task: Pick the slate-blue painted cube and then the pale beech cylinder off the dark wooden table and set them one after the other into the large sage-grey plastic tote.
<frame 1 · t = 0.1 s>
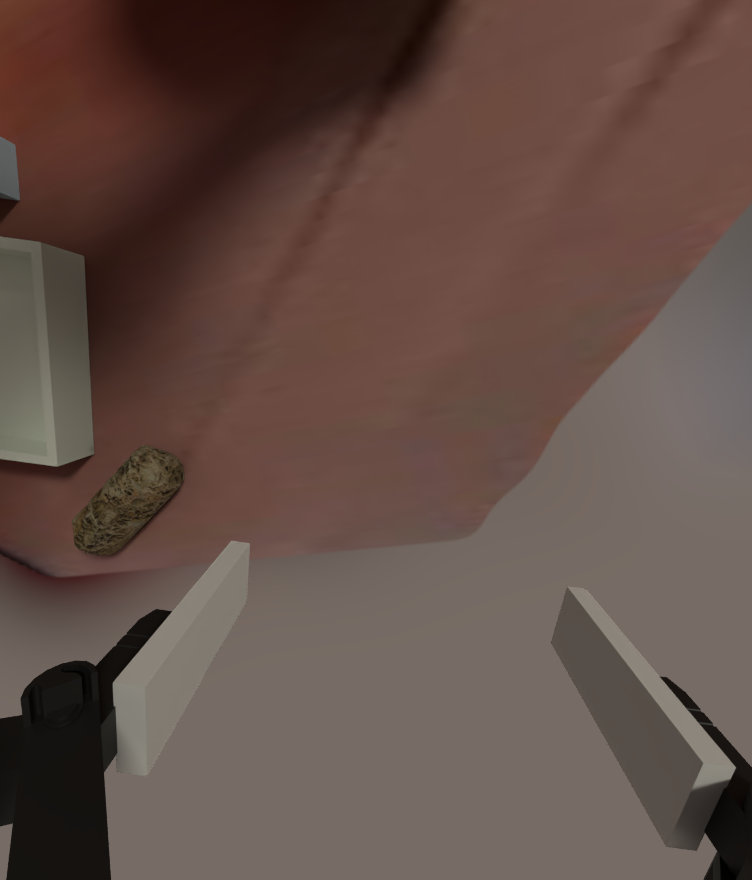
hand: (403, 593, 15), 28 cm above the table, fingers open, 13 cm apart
coral: (146, 490, 45), on the table
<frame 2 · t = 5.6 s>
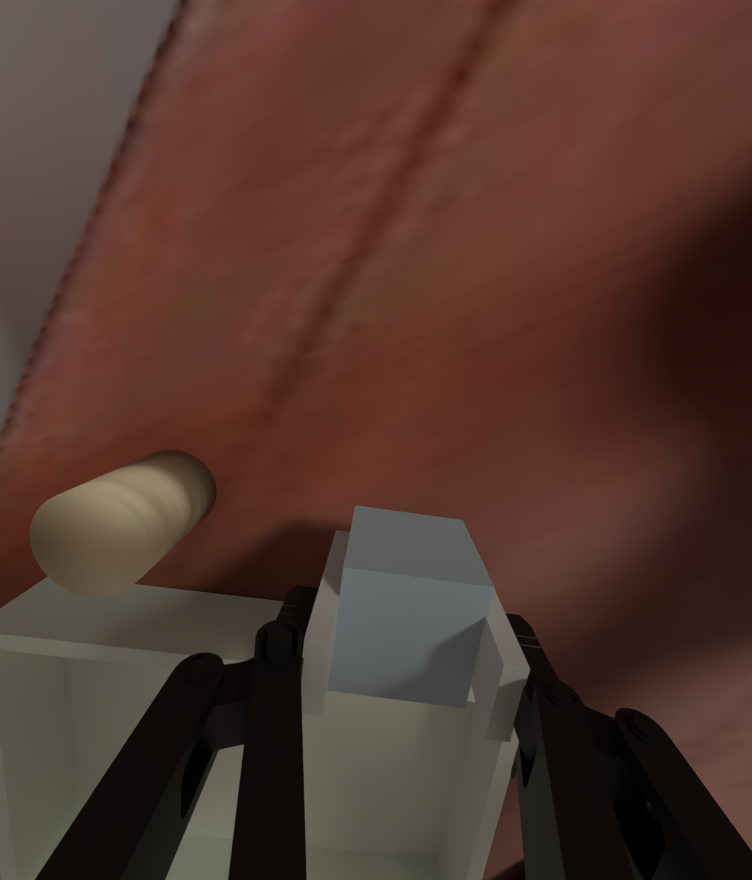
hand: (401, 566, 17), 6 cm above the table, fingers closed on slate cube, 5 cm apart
slate cube: (400, 560, 17), point 6 cm above the table, touching gripper
beech cylinder: (175, 488, 23), on the table
tote: (269, 731, 27), on the table
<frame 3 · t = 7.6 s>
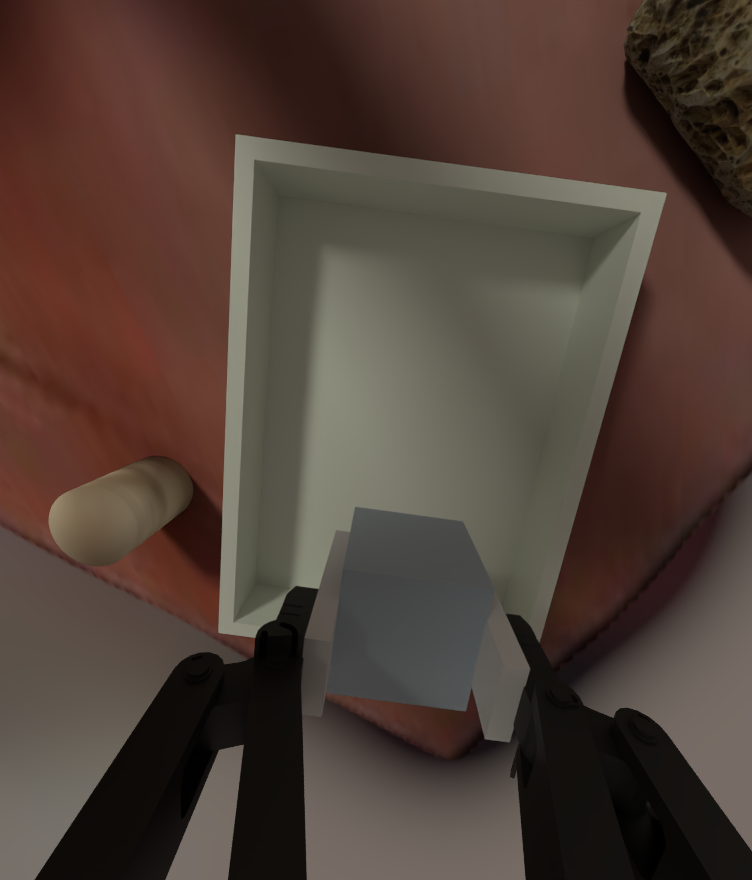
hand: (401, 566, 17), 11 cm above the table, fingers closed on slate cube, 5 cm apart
slate cube: (400, 562, 17), point 11 cm above the table, touching gripper
coral: (701, 121, 22), on the table
beech cylinder: (161, 486, 28), on the table
tote: (403, 430, 27), on the table
when the fingers open (1 cm above the table, at t = 9.6 s): slate cube stays where it is, resting on tote.
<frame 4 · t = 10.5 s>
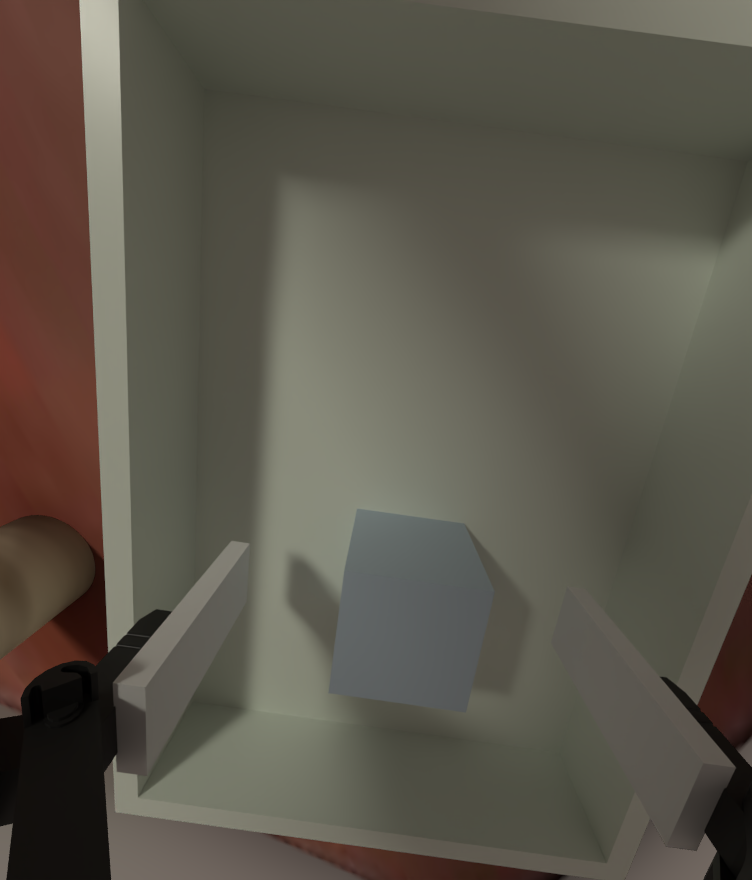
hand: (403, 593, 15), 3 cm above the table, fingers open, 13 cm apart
slate cube: (402, 563, 17), point 1 cm above the table, touching tote
beech cylinder: (47, 560, 19), on the table
tote: (414, 479, 17), on the table
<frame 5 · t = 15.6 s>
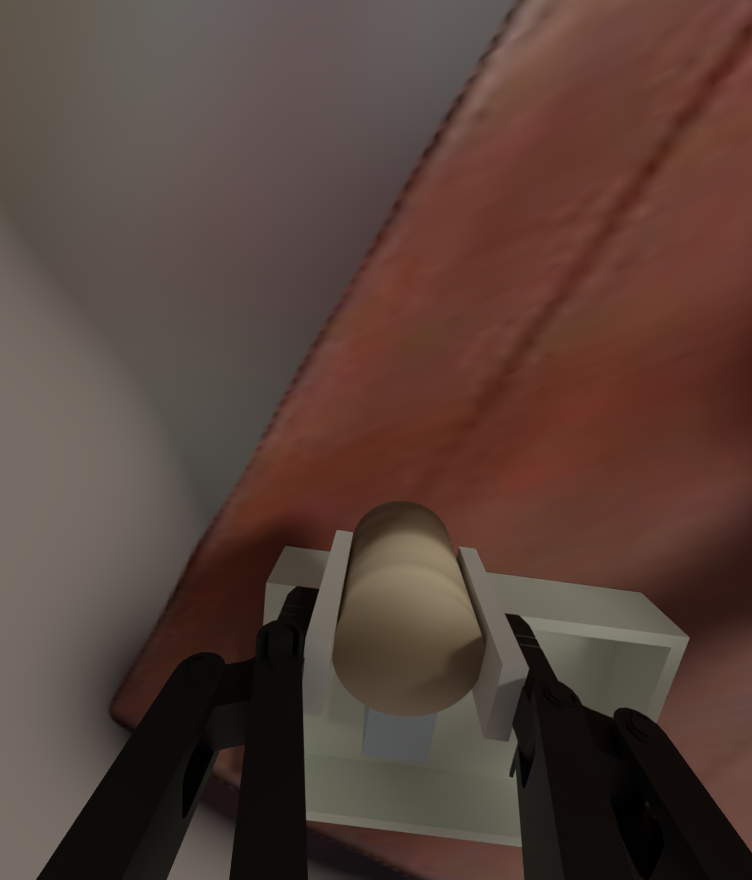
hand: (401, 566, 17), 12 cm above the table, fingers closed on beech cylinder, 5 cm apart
slate cube: (396, 676, 32), point 1 cm above the table, touching tote
beech cylinder: (400, 546, 19), point 10 cm above the table, touching gripper
tote: (441, 676, 33), on the table
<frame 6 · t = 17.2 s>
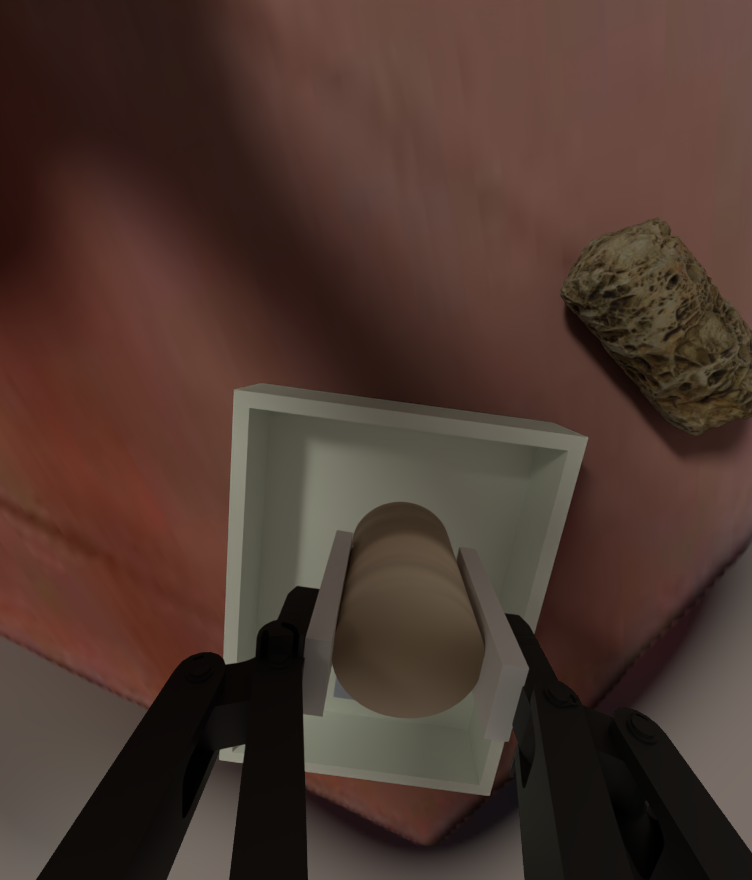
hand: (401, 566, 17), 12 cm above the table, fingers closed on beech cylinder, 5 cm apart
coral: (632, 336, 26), on the table
beech cylinder: (400, 547, 19), point 10 cm above the table, touching gripper
tote: (380, 578, 31), on the table
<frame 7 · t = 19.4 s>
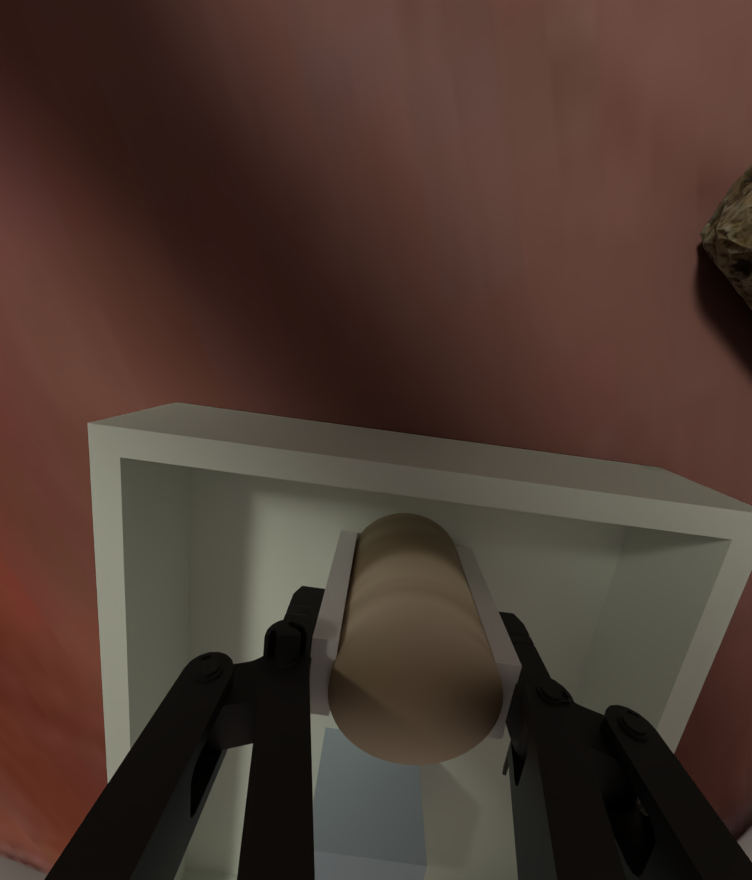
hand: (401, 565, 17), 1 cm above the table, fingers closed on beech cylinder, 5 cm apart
slate cube: (365, 768, 20), point 1 cm above the table, touching tote
beech cylinder: (403, 562, 17), point 1 cm above the table, touching gripper
tote: (375, 700, 20), on the table
when the fingers open (1 cm above the table, at t = 19.4 s): beech cylinder stays where it is, resting on tote.
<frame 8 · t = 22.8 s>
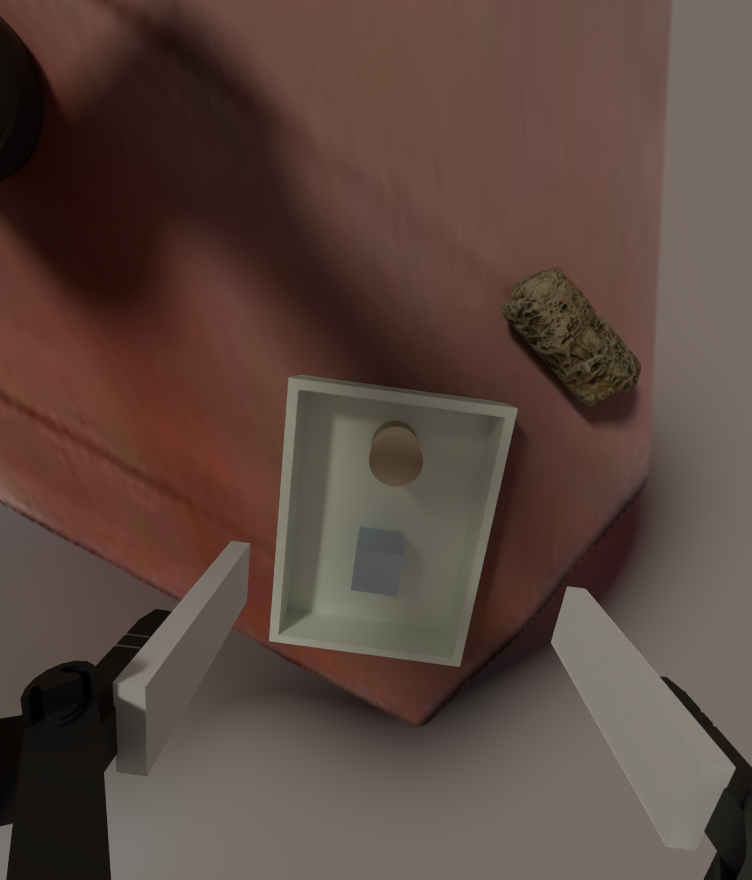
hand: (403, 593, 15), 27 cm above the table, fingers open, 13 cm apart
slate cube: (378, 548, 43), point 1 cm above the table, touching tote
coral: (555, 340, 38), on the table
beech cylinder: (394, 443, 40), point 1 cm above the table, touching tote
tote: (382, 514, 43), on the table
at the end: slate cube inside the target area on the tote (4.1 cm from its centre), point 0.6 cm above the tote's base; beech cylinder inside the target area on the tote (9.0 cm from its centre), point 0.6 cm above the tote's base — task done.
